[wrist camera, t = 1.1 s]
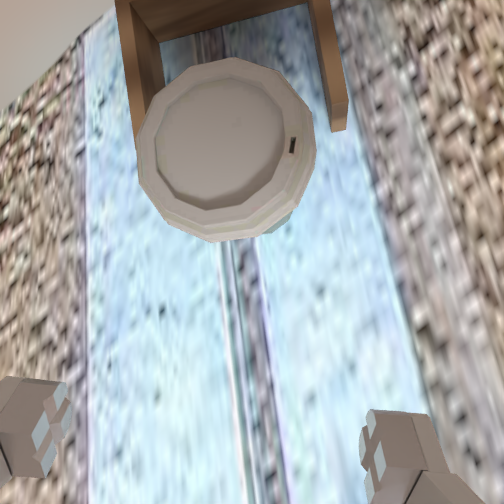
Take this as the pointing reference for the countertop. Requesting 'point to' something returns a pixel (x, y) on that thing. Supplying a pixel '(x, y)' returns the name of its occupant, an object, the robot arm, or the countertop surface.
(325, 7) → the dock cradle
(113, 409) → the countertop surface
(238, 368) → the countertop surface
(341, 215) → the countertop surface
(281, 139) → the disposable coffee cup
